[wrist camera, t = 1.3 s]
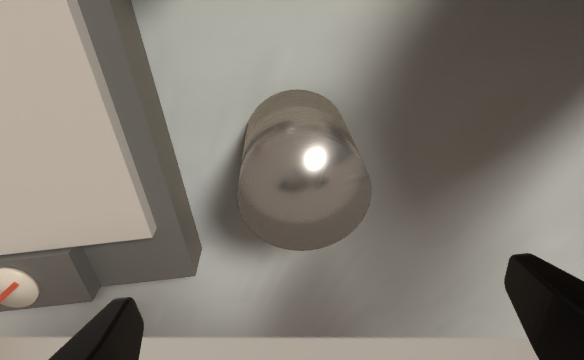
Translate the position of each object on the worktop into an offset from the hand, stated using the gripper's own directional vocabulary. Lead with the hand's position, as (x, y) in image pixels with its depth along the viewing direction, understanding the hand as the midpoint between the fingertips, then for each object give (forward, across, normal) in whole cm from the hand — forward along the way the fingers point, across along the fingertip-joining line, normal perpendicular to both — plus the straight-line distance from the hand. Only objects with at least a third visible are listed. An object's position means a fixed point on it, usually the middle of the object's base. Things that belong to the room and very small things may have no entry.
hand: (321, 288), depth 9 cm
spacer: (+9, 0, 0) cm, 9 cm away
